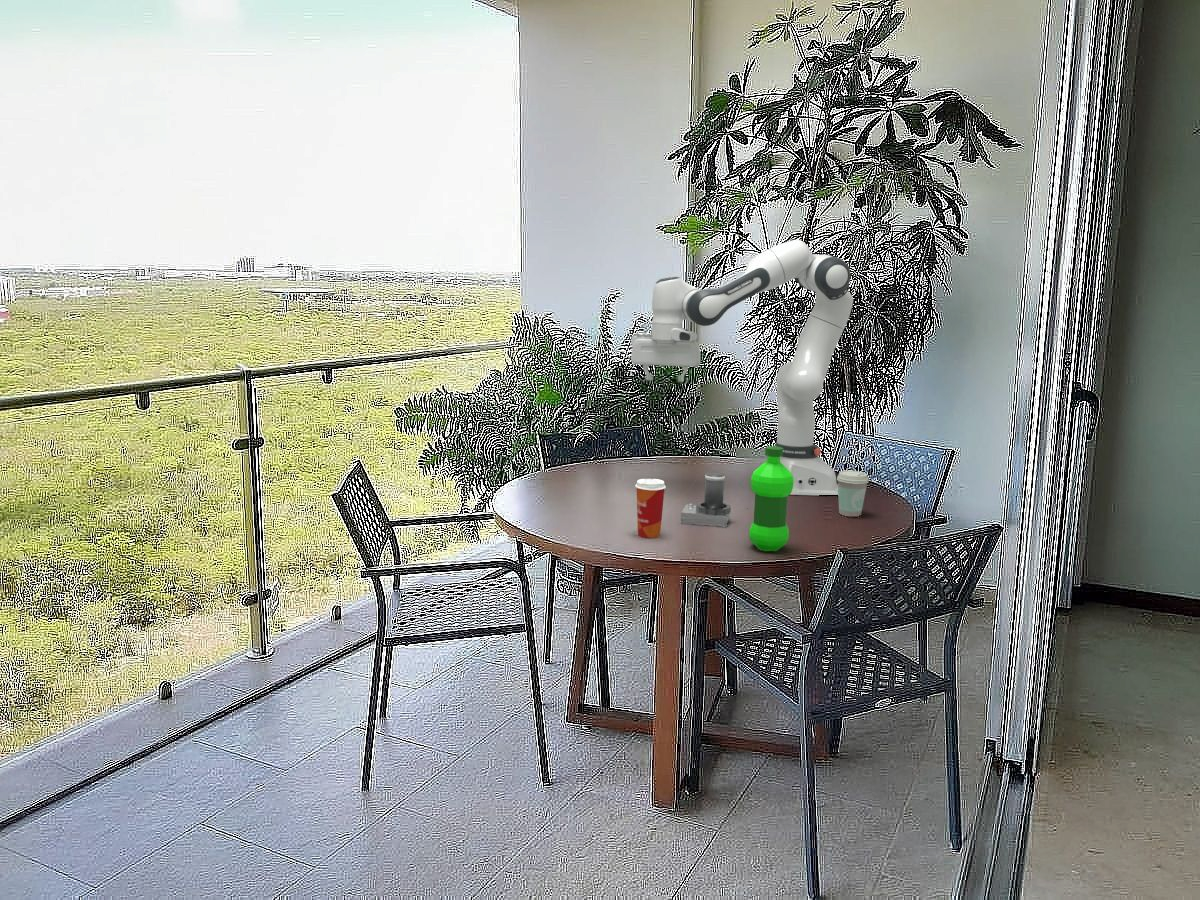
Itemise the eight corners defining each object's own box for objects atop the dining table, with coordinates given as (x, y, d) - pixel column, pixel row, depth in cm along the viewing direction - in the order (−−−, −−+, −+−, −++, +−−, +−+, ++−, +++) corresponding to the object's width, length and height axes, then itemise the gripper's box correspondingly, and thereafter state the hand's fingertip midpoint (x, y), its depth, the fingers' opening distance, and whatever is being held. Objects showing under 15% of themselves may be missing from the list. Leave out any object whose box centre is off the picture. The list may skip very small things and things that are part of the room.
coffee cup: (848, 520, 253) (852, 477, 251) (827, 513, 261) (830, 471, 258) (872, 517, 257) (875, 475, 255) (851, 510, 265) (854, 469, 262)
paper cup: (632, 530, 239) (633, 477, 236) (661, 530, 239) (663, 477, 237) (635, 539, 231) (637, 485, 228) (666, 539, 232) (668, 485, 229)
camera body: (731, 518, 252) (732, 502, 252) (727, 527, 244) (728, 510, 243) (685, 514, 255) (686, 499, 254) (680, 523, 247) (681, 507, 246)
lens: (724, 509, 250) (726, 473, 248) (721, 514, 245) (723, 477, 243) (705, 507, 252) (706, 471, 250) (702, 512, 247) (704, 475, 245)
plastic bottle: (795, 554, 222) (801, 452, 217) (751, 554, 221) (757, 451, 216) (783, 542, 232) (789, 444, 227) (742, 542, 231) (747, 443, 226)
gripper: (629, 333, 269) (628, 380, 272) (699, 335, 265) (697, 383, 267) (633, 331, 275) (632, 378, 278) (702, 334, 271) (700, 381, 273)
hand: (664, 380), depth 273 cm, fingers open, 8 cm apart
